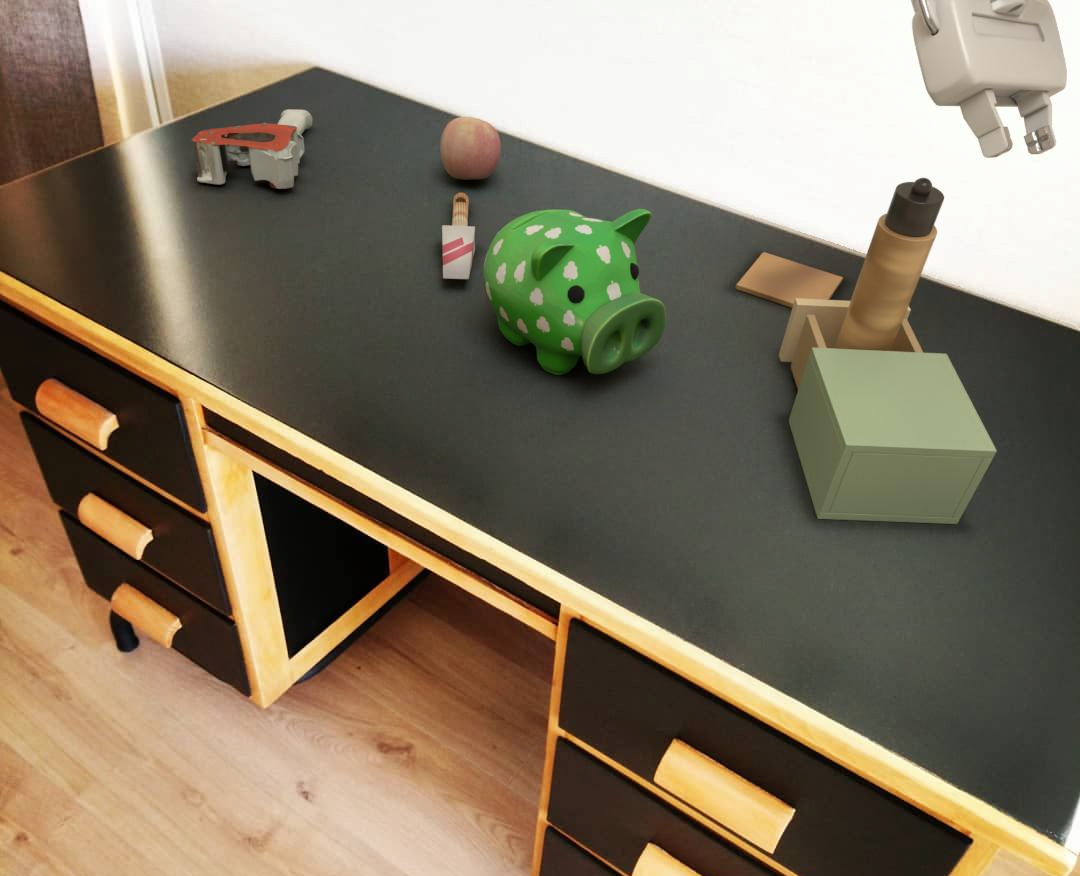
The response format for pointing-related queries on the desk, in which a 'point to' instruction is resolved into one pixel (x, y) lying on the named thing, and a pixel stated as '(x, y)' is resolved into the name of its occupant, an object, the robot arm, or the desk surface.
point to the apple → (470, 148)
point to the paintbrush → (458, 241)
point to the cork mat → (787, 281)
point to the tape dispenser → (254, 149)
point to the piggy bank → (573, 289)
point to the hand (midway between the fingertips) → (1022, 152)
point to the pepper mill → (892, 268)
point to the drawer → (826, 332)
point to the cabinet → (888, 436)
